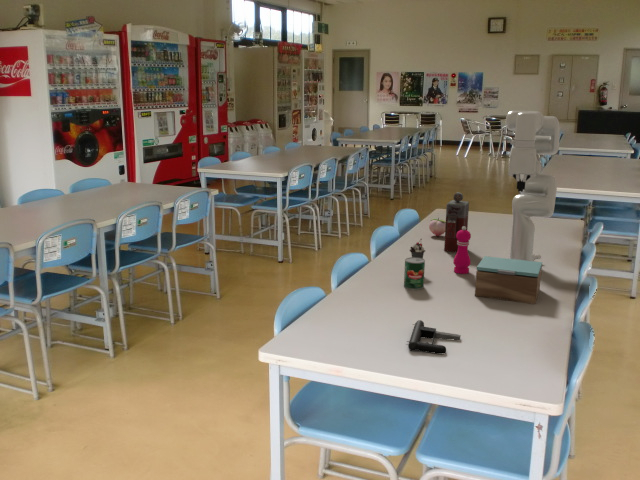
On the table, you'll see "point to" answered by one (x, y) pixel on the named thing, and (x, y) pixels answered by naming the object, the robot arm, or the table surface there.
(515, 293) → the box
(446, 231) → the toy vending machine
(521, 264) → the lid
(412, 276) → the canned tomato
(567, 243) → the table surface
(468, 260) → the pepper mill
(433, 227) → the decorative fruit
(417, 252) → the sundae
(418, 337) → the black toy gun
